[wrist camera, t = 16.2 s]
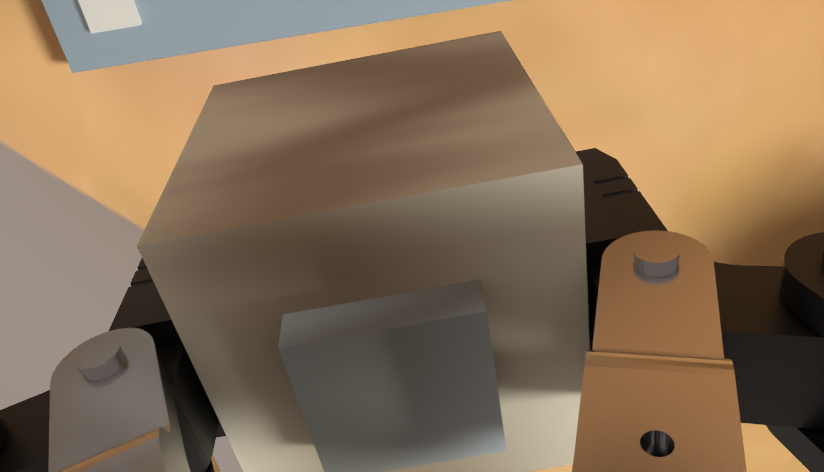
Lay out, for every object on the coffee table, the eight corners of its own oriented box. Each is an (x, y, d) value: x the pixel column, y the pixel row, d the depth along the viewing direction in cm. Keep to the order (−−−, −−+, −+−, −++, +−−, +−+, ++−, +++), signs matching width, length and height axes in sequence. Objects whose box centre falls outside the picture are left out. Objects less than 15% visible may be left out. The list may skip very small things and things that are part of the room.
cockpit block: (500, 31, 12) (599, 190, 7) (523, 266, 14) (606, 495, 10) (213, 85, 12) (122, 278, 7) (289, 308, 15) (259, 553, 10)
